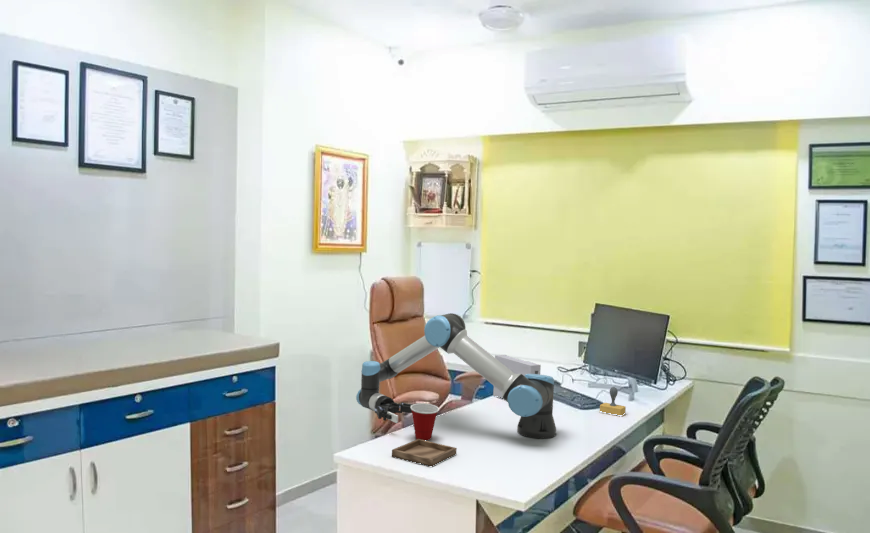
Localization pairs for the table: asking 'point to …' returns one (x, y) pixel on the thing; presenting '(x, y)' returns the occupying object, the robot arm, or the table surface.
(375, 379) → the robot arm
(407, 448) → the cup tray
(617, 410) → the rubber stamp
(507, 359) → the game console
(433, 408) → the plastic cup
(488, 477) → the table surface
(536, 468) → the table surface
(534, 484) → the table surface
